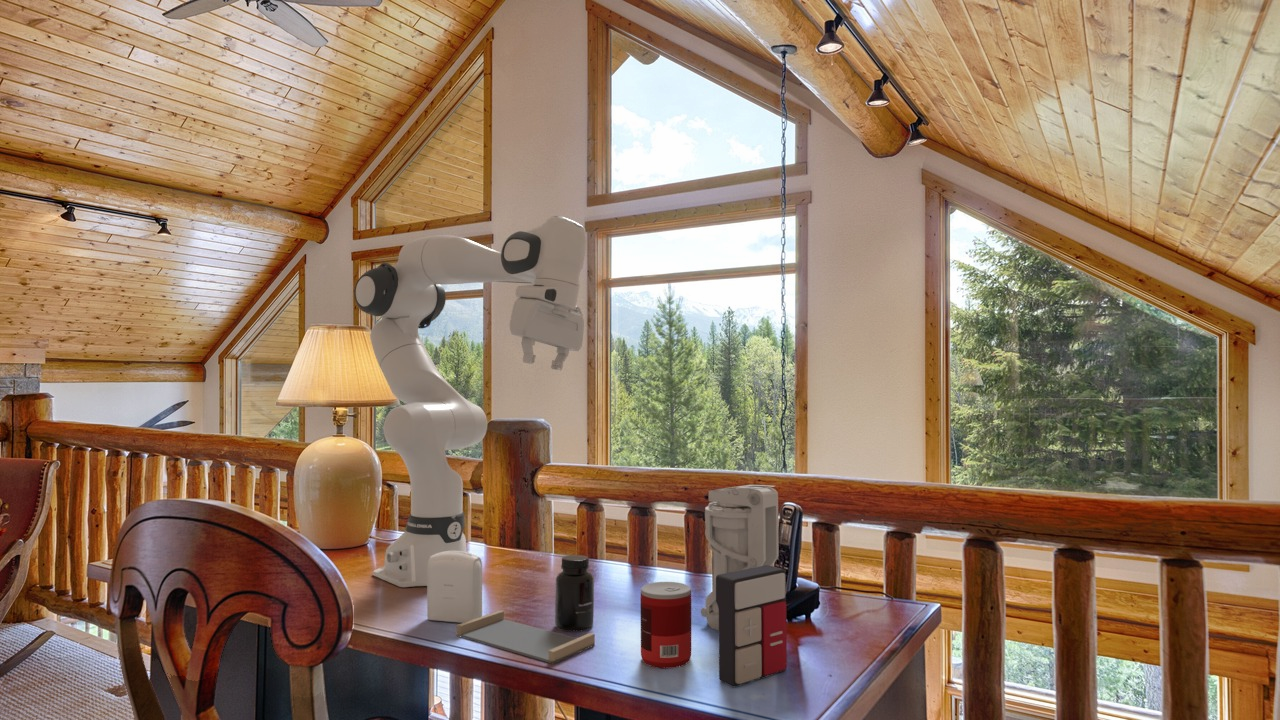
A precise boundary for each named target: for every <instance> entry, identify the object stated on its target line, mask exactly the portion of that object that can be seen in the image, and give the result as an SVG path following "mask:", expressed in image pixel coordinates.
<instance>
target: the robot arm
mask: <svg viewBox="0 0 1280 720" xmlns="http://www.w3.org/2000/svg"><path fill="white" fill-rule="evenodd" d="M586 249H587V233H586V229H585V227H584V226H583V225H582V224H580V223H579V222H576V221H575V220H573V219H569V218H567V217H564V216H559V215H553V216H550V217H548V219H547V220H546V221H544V223H543V224H541V225H538V226H536V227H534V228H532V229H528V230H525V231H521V230H519V231H516V232H514V233H512V234H511V235H510V236H509V237H507V238H506V239H505V241H504V242H503V244H502V247H501V252H500V251H498V250H495V249H491V248H490V247H487V246H485V245H482V244H480V243H478V242H475V241H473V240H471V239H468V238H465V237H461V236H457V235H451V234H436V235H428V236H427V235H426V236H424V237H423V236H422V237H419V238H416V239H414V240H413V239H412V240H410V241H408V242H406V243H404V244H403V246H402V247H401V249H400V251H399V253H398V258H397V262H396V263H395V264H393V265H392V264H390V263H388V262H383V263H380V264H379V265H378V266H377V267H374V268H372V269H369V270H367V271H365V272H364V273H363V274H361V276H360V277H359V278H358V279H357V281H356V283H355V287H354V293H353V294H354V300H355V303H356V306H357V307H358V309H359V310H361V311H362V312H364V314H368V315H370V316H374V317H381V319H380V320H377V321H376V323H375V324H374V325H373V326H372V328H371V331H370V334H369V336H370V342H371V347H372V350H373V354H374V356H375V359H376V361H377V364H378V366H379V368H380V370H381V372H382V374H383V376H384V378H385V381H386V383H387V385H388V386H389V388H390V391H391V393H392V394H393V396H394V397H395V398H396V399H398V400H399V401H401V402H402V403H405V404H402V405H399V406H395V407H394V408H392V409H391V410H390V411H389V412H388V413H387V415H386V417H385V419H384V422H383V435H384V439H385V441H386V443H387V444H388V446H389V447H390V448H391V449H393V451H395V452H396V453H397V454H398V455H399V456H400V457H401V459H402V461H403V463H404V465H405V467H406V470H407V473H408V476H409V481H410V502H411V503H410V514H409V516H408V515H407V516H404V517H403V519H405V520H403V521H402V522H403V523H406V525H405V529H404V530H405V531H404V532H403V533H402V534H401V535H400V536H399V537H398V538H396V540H394V541H393V542H392V543H391V544H390V545H389V546H388V547H387V548H386V551H385V556H384V566H381V567H379V568H376V569H374V570H373V572H372V573H373V574H372V575H373V576H374V577H375V578H378V579H380V580H383V581H386V582H387V583H390V584H392V585H395V586H397V587H399V588H410V587H427V566H428V561H429V559H430V557H431V556H432V555H434V554H437V553H440V552H444V551H463V552H467V553H468V550H467V539H466V535H465V534H464V529H465V525H466V523H465V522H466V518H465V512H464V511H463V507H464V506H463V505H464V504H463V501H464V499H463V497H464V496H463V494H464V491H463V490H464V489H463V488H464V485H463V483H464V482H463V478H462V476H461V475H460V474H459V472H458V471H456V470H454V469H453V468H451V466H450V464H449V463H448V462H449V461H448V459H447V454H446V451H452V450H453V451H454V450H463V449H466V448H469V447H472V446H474V445H476V444H479V443H480V442H482V440H483V439H484V438H485V436H486V434H487V431H488V419H487V415H486V413H485V411H484V409H483V408H481V407H480V406H479V405H477V404H475V403H473V402H472V401H469V400H468V399H466V398H465V397H464V396H462V394H460V393H459V391H457V390H456V389H455V388H454V387H453V386H452V385H451V384H450V383H449V382H448V381H447V380H446V379H445V378H444V376H442V374H441V373H440V371H439V370H438V368H437V367H436V365H435V363H434V361H433V360H432V357H431V356H430V354H429V352H428V350H427V348H426V346H425V345H424V342H422V340H421V337H420V336H419V329H425V328H428V327H429V326H430V325H431V324H432V322H433V321H435V320H436V319H437V318H438V317H439V316H440V314H441V313H442V311H443V310H444V308H445V305H446V300H447V298H446V296H447V295H446V290H445V288H444V286H443V285H461V284H474V283H475V284H478V283H514V284H515V283H516V284H517V283H518V284H526V285H518V286H516V288H515V297H516V299H515V301H514V303H513V306H512V310H511V315H510V322H509V331H510V334H511V335H512V336H516V337H519V338H521V339H522V340H521V344H520V345H521V349H522V352H523V355H522V356H523V357H522V362H523V363H525V364H529V365H530V364H531V365H534V364H535V361H536V360H535V359H536V355H535V354H534V348H533V346H535V344H536V342H537V343H540V344H544V345H548V346H552V347H555V348H556V354H557V355H556V356H555V358H554V359H553V360H552V361H551V366H550V368H551V369H552V370H555V371H562V369H563V367H564V363H565V361H566V359H567V358H568V356H569V354H570V351H572V352H579V351H580V350H581V348H582V347H583V343H584V331H585V322H584V321H585V320H584V317H583V316H584V315H583V313H582V310H581V308H580V307H579V306H577V302H578V298H579V291H580V274H581V272H582V269H583V267H584V261H585V257H586Z"/></svg>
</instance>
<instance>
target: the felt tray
mask: <svg viewBox="0 0 1280 720" xmlns="http://www.w3.org/2000/svg"><path fill="white" fill-rule="evenodd" d="M456 636H457V637H460V636H461V637H460V638H463V639H466V638H467V640H470V639H471V640H470V641H473V640H474V642H478V643H480V644H483V643H484V644H483V645H487V646H491V647H494V648H498V649H502V650H505V651H509V652H512V653H515V654H518V655H520V656H526V657H527V658H528V657H529V658H532V659H535V660H539V661H542V662H545V663H549V664H553V665H554V664H557V663H559V662H561V661H563V660H566V659H567V658H569V657H572V656H575V655H576V654H579V653H580V651H581V652H583V651H585V650H587V649H589V648H591V646H592V647H593V645H594V646H596V645H595V641H596V639H595V637H596V636H595V633H593V632H588V633H586V634H584V635H581V636H580V637H574V636H571V635H568V634H563V633H558V632H555V631H550V630H547V629H544V628H539V627H535V626H531V625H528V624H524V623H520V622H517V621H513V620H508V619H505V611H504V610H501V609H499V610H497V611H494V612H491V613H489V614H485V615H482V617H479V618H476V619H473V620H470V621H467V622H464V623H459V624H456ZM588 647H589V648H588ZM586 648H587V649H586ZM582 650H583V651H582Z"/></svg>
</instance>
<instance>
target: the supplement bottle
mask: <svg viewBox="0 0 1280 720" xmlns="http://www.w3.org/2000/svg"><path fill="white" fill-rule="evenodd" d="M589 562H590V560H589V557H588V556H586V555H582V554H580V555H579V554H571V555H564V556H563V557H561V565H560V568H561V570H562V571H560V572H559V573H558V574H557V576H556V577H555V593H554V594H555V596H554V597H555V600H554V601H555V602H554V603H555V606H554V610H555V611H554V616H555V617H554V621H555V622H554V624H555V626H556V628H557V629H559V630H561V631H566V632H581V630H582V631H586V630H589V629H590V628H592V626H593V625H594V610H595V608H594V607H595V606H594V605H595V604H594V601H595V578H594V576H593V574H592V572H590V571H588V570H589V568H590V564H589Z"/></svg>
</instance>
